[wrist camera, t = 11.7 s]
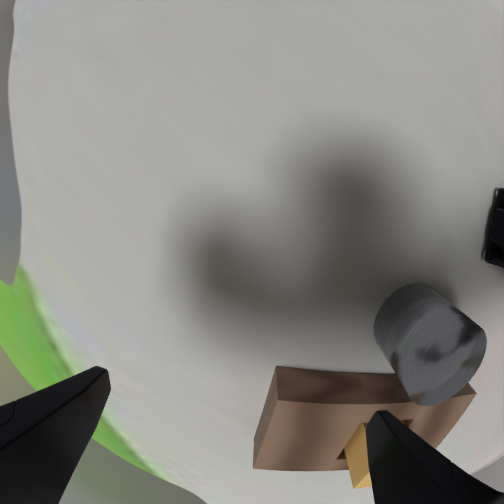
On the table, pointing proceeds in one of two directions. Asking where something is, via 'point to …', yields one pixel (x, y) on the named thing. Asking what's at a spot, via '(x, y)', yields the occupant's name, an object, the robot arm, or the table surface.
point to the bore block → (339, 416)
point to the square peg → (358, 457)
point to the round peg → (428, 343)
